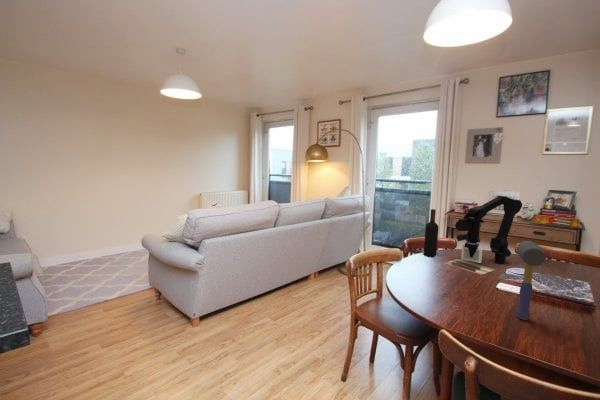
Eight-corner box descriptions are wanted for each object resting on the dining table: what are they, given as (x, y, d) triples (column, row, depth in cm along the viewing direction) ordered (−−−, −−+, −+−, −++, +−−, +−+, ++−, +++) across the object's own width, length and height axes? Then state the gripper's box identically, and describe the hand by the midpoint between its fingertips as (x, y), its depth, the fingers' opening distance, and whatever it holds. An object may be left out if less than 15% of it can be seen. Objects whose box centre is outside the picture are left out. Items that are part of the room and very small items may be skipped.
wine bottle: (420, 254, 191) (424, 208, 187) (429, 253, 195) (432, 208, 191) (430, 258, 185) (433, 210, 181) (439, 256, 188) (442, 210, 184)
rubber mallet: (538, 329, 107) (549, 249, 103) (513, 323, 110) (522, 246, 106) (531, 313, 118) (540, 240, 114) (508, 309, 121) (516, 238, 117)
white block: (460, 259, 173) (462, 246, 172) (461, 258, 175) (462, 245, 174) (480, 263, 167) (482, 249, 166) (481, 261, 169) (482, 248, 168)
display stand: (458, 260, 181) (458, 256, 181) (495, 271, 164) (495, 266, 163) (443, 264, 173) (444, 260, 173) (480, 276, 156) (481, 272, 155)
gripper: (460, 225, 181) (458, 250, 183) (455, 231, 166) (453, 258, 168) (481, 228, 174) (479, 253, 176) (478, 234, 159) (475, 262, 161)
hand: (471, 256), depth 171 cm, fingers closed on white block, 3 cm apart
